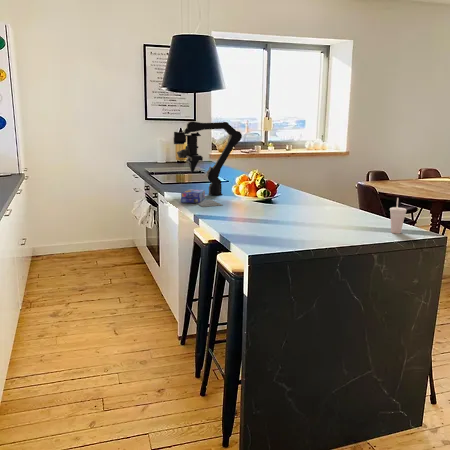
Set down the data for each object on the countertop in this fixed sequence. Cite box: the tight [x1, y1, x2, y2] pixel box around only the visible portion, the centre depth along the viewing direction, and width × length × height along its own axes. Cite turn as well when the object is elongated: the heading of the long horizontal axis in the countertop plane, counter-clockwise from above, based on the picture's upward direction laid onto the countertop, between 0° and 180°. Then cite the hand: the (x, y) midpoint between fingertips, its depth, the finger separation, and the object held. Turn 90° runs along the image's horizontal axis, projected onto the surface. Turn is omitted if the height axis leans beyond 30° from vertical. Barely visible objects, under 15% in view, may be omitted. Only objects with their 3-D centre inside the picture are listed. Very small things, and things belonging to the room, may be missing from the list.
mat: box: [195, 199, 224, 208], centre depth 245 cm, size 11×16×1 cm
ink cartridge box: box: [180, 189, 206, 204], centre depth 248 cm, size 10×6×14 cm
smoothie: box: [389, 197, 407, 235], centre depth 188 cm, size 6×6×14 cm
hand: (192, 172), depth 267 cm, fingers closed
